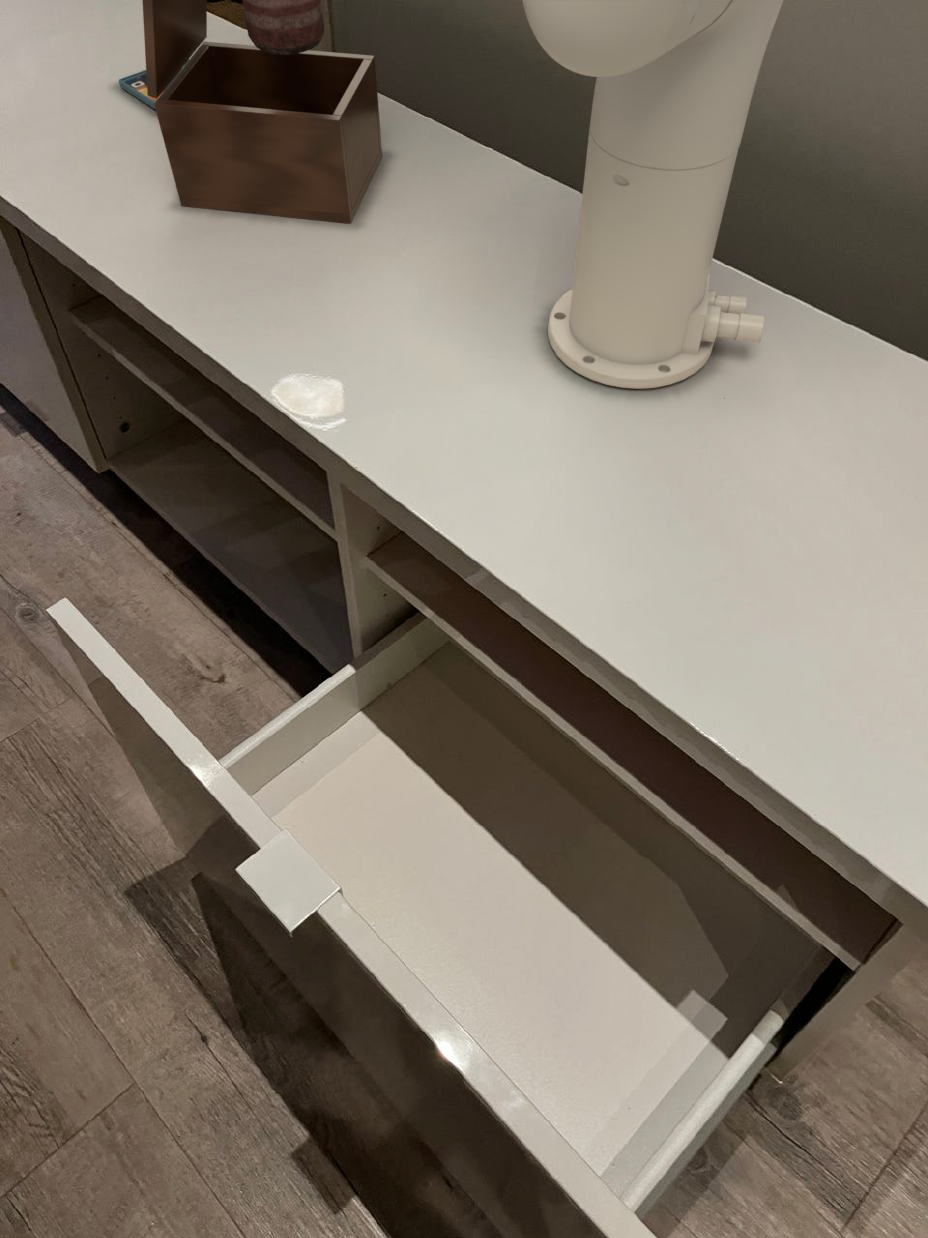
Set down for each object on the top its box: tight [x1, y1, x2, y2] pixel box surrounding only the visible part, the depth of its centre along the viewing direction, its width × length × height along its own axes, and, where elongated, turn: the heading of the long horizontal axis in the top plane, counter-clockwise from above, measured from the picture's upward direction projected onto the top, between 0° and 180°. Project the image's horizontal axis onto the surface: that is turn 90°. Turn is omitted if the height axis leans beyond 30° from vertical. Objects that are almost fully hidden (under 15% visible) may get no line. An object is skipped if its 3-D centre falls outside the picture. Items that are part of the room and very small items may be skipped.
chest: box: [154, 41, 383, 224], centre depth 81 cm, size 16×12×9 cm
